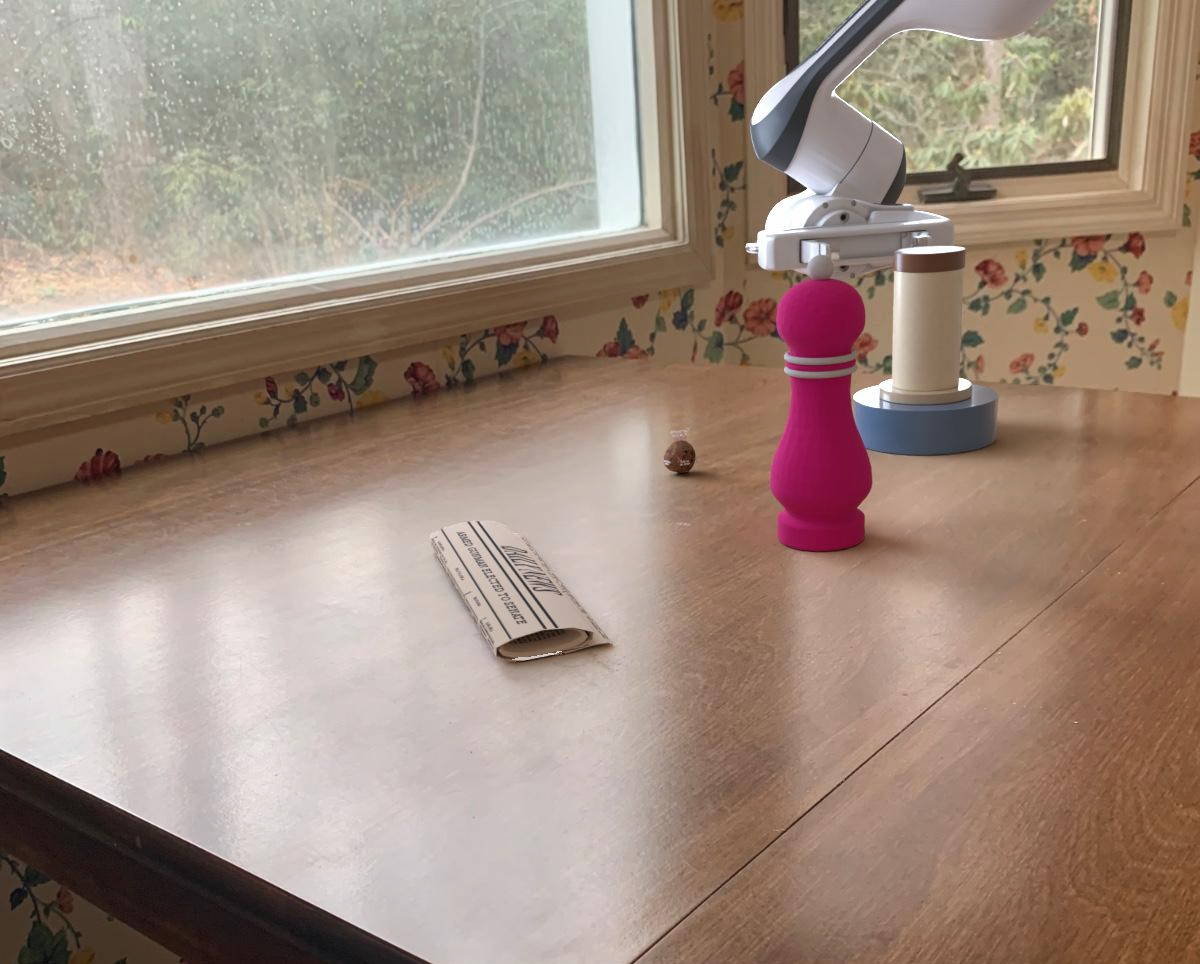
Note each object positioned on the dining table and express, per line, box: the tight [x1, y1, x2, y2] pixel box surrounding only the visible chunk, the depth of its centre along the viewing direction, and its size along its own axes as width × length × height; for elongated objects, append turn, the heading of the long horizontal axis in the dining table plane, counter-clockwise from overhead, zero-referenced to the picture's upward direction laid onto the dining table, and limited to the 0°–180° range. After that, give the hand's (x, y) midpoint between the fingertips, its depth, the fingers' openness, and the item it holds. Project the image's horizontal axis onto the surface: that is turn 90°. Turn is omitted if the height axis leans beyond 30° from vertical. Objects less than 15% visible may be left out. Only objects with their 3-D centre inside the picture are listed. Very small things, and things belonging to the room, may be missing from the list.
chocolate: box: [662, 427, 699, 474], centre depth 106 cm, size 3×2×4 cm
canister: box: [891, 245, 967, 391], centre depth 109 cm, size 6×6×12 cm
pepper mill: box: [769, 255, 873, 552], centre depth 85 cm, size 7×7×20 cm
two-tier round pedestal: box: [852, 377, 1000, 456], centre depth 112 cm, size 13×13×5 cm
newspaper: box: [428, 519, 613, 662], centre depth 82 cm, size 24×7×2 cm, turn 17°
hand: (879, 250), depth 119 cm, fingers open, 8 cm apart
